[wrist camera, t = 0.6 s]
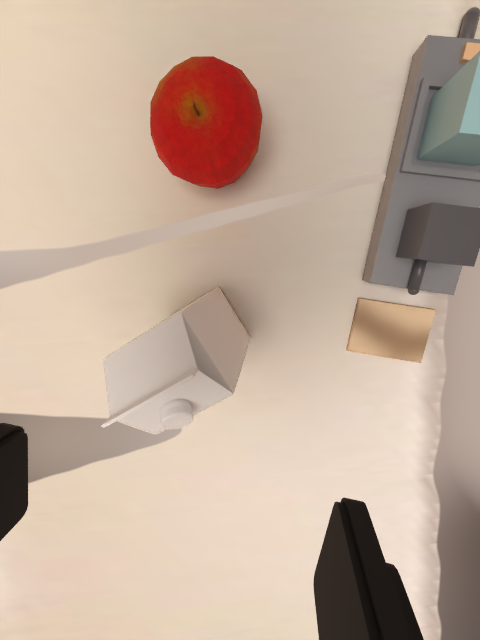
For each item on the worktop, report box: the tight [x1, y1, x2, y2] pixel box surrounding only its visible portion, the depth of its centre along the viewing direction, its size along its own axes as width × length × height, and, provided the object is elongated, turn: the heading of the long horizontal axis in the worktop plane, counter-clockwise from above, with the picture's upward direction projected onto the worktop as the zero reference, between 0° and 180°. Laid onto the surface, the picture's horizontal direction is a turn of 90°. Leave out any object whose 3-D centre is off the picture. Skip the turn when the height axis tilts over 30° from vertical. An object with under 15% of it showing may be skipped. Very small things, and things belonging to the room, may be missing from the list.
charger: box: [416, 51, 480, 166], centre depth 25 cm, size 5×5×7 cm
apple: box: [150, 57, 262, 188], centre depth 27 cm, size 9×9×12 cm
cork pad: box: [347, 298, 436, 363], centre depth 35 cm, size 6×8×1 cm
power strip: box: [362, 7, 480, 295], centre depth 27 cm, size 25×8×8 cm, turn 172°
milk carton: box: [101, 287, 250, 434], centre depth 28 cm, size 7×7×19 cm
